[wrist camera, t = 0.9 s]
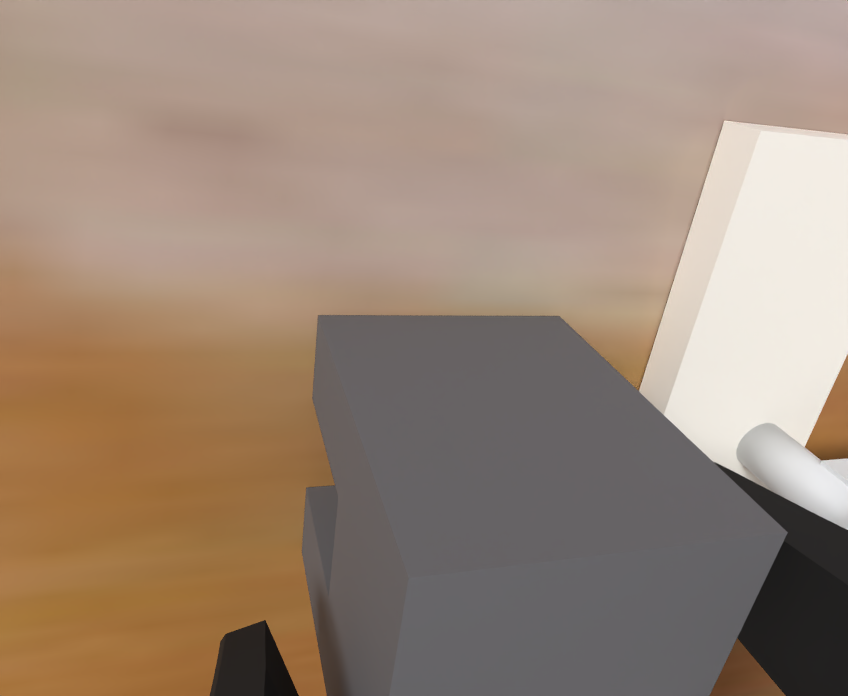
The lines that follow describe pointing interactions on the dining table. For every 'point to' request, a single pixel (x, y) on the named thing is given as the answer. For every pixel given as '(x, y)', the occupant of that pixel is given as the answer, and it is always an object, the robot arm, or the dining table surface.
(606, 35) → the dining table surface
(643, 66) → the dining table surface
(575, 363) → the notched grey block
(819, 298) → the cream frame with handle
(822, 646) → the robot arm
